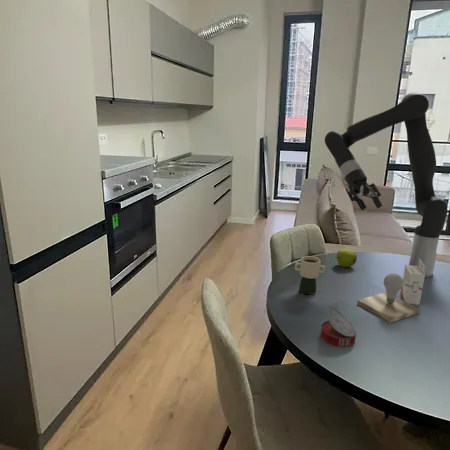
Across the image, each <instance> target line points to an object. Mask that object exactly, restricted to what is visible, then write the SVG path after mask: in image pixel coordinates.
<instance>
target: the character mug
mask: <svg viewBox="0 0 450 450" xmlns="http://www.w3.org/2000/svg"><path fill="white" fill-rule="evenodd" d="M321 262H322V261H321V259H320V258H319V257H317V256H311V255H306V256H302V257H300V262H298V261H296V262H295V264H294V271H296V272H299V275H300V276H301V279H300V283H299V287H298V289H299V291H300V292H301V293H303V294H307V295H311V294H312V295H313V294H315V293H316V292H317V278H319V276H320V274H321V275H324V274H325V273H326V266H325V265H323V264H321ZM298 266H299V268H298Z"/></svg>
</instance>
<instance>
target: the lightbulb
mask: <svg viewBox="0 0 450 450" xmlns="http://www.w3.org/2000/svg"><path fill="white" fill-rule="evenodd" d="M383 284H384V288H385V293H386V296H387V299H386V301H387V302H388V303H389V304H392V303H394V301H395V298H397V295H398V293H399V292H400V291H401V288H402V287H403V278H402V276H401V275H399V274H398V273H388V274H387V275H386V276H385V277H384V278H383Z"/></svg>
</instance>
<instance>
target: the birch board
mask: <svg viewBox="0 0 450 450" xmlns="http://www.w3.org/2000/svg"><path fill="white" fill-rule="evenodd" d="M386 299H387V296H386V292H382V293H377V294H375V295H371V296H366V297H364V298H360V299H359V298H358V299H357V305H359V306H361V307H362V308H365V309H366V310H367V311H369V312H372V313H373V314H375V315H377V316H378V315H379V316H378V317H381V318H382V319H384V320H385V321H387V322H388V323H393V321H394V322H397V321H399V320H402V319H406V318H409V317H412V316H414V315H417V313H418V314H419V313H420V309H419V307H415V306H413V304H408V303H405V301H404V300H402V299H399V298H397V297H396V298H395V301H394V303H392V304H389V303H388V302H387V301H386ZM411 315H412V316H411Z"/></svg>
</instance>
